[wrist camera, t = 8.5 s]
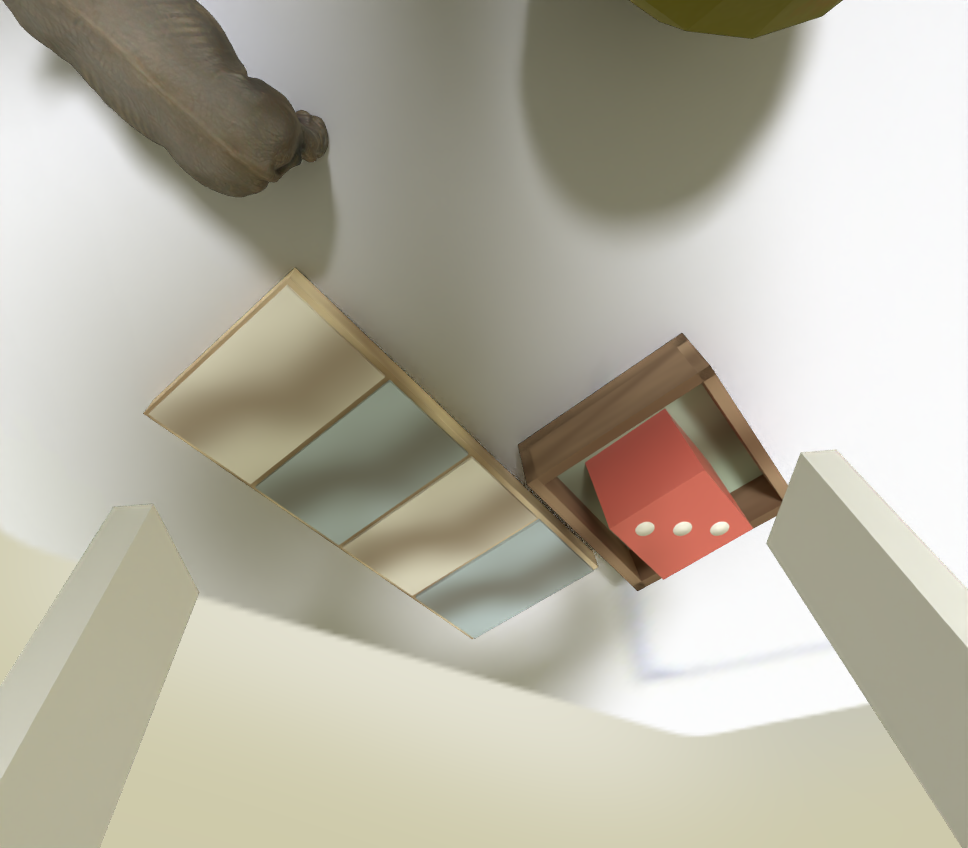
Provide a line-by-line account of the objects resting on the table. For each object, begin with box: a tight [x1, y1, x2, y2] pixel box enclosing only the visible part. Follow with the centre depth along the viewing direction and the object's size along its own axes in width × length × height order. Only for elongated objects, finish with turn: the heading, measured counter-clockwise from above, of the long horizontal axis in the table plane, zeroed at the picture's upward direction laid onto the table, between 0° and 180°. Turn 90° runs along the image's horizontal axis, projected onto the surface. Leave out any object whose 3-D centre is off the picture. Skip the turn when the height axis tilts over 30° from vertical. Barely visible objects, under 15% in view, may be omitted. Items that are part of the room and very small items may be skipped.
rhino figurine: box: [3, 0, 328, 197], centre depth 17 cm, size 4×14×6 cm, turn 44°
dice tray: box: [518, 333, 788, 591], centre depth 30 cm, size 11×10×3 cm
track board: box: [143, 268, 598, 639], centre depth 31 cm, size 24×10×1 cm, turn 39°
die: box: [585, 409, 753, 580], centre depth 29 cm, size 5×5×5 cm
